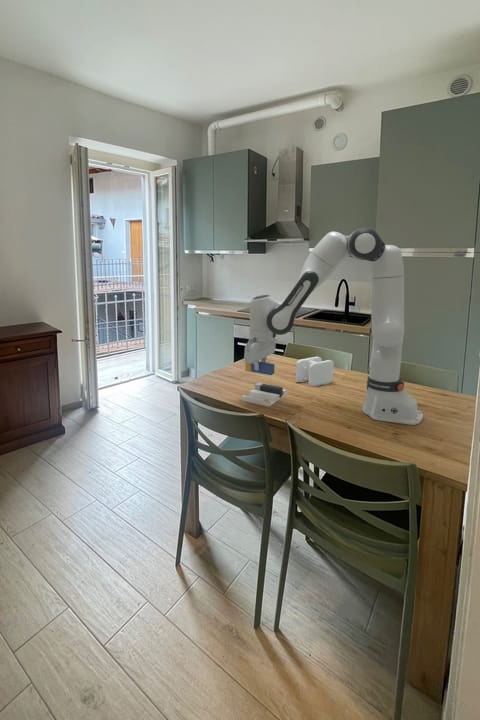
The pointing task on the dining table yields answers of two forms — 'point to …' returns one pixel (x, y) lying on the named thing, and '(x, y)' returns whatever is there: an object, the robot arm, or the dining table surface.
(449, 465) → the dining table surface
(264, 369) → the blue bar yellow end
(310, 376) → the cable organizer
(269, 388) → the dark grey square rod
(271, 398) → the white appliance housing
